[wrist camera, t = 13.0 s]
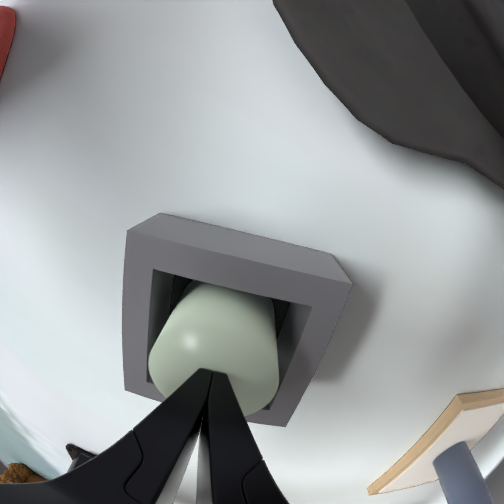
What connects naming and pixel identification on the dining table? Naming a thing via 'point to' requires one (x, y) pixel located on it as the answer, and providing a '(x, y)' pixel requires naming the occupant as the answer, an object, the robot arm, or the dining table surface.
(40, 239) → the dining table surface
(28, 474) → the stuffed squirrel
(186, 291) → the button
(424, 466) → the sketch pad
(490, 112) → the casserole
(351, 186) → the dining table surface
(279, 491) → the robot arm
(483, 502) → the toy microphone
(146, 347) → the gray square hollow block
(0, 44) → the stacking bear
